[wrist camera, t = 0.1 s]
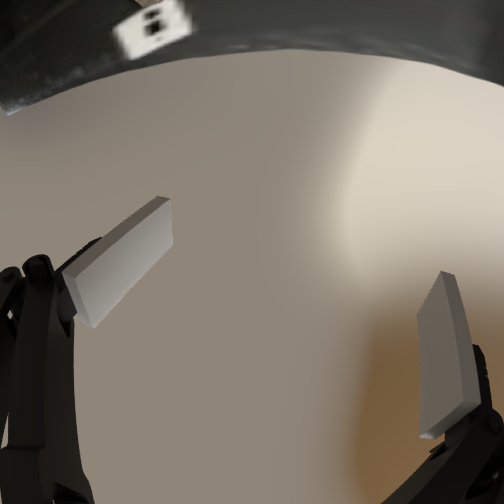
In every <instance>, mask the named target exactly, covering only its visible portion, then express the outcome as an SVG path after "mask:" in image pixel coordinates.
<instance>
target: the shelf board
mask: <svg viewBox="0 0 504 504" xmlns="http://www.w3.org/2000/svg"><path fill="white" fill-rule="evenodd" d="M135 1H136V2H138V3H139V4H140V5H141V6H143V7H146V6H149V5H153V4H156V3H160V2H163V0H135Z"/></svg>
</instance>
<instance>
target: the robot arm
mask: <svg viewBox="0 0 504 504" xmlns="http://www.w3.org/2000/svg"><path fill="white" fill-rule="evenodd" d="M172 245H173V239H172V221H171V201H170V199H169V198H165V197H160V196H157V197H155V198H154V199H153V200H151V201H150V202H149V203H147V204H146V205H145V206H143V207H142V208H140V209H139V210H138V211H136V212H135V213H134V214H132V215H131V216H130V217H128V218H127V219H126V220H125V221H124V222H122V223H120V224H119V225H118V226H117V227H115V228H114V229H113V230H112V231H110V232H109V233H108V234H106V235H105V236H104V237H103V238H102V237H99V238H97V239H95V240H93V241H90V242H89V243H88V244H87V245H85V246H84V247H83V248H82V250H80V251H78V252H77V253H76V255H74V256H72V257H71V258H70V259H68V260H67V261H66V262H65V263H64V264H63V265H62V266H60V267H59V268H58V269H57V270H56V271H54V269H53V266H52V264H51V261H50V258H49V257H48V256H47V255H44V254H41V255H35V256H33V257H31V258H29V259H28V260H27V261H26V262H25V263H24V264H23V266H22V269H23V271H24V274H25V276H26V277H22V274H21V272H20V270H19V268H17V267H14V266H13V267H8V268H6V269H4V270H3V271H2V272H0V449H1V444H2V439H3V434H4V429H5V424H6V420H7V416H8V444H7V446H6V447H4V448H2V449H1V450H0V491H1V499H2V504H53V500H54V503H55V504H95V503H94V500H93V495H92V490H91V487H90V484H89V481H88V479H87V478H86V476H85V474H84V472H83V470H82V464H81V459H80V451H79V443H78V435H77V425H76V413H75V397H74V365H73V364H74V319H73V317H74V316H75V314H77V313H78V316H79V318H80V321H81V323H83V324H85V325H87V326H88V327H90V328H92V329H94V328H96V326H97V325H98V324H99V323H100V322H101V321H102V319H104V317H105V316H106V315H107V314H108V313H109V312H110V311H111V310H112V309H113V308H114V306H115V305H116V304H117V303H118V302H119V301H120V300H121V299H122V298H123V297H124V296H125V294H126V293H127V292H128V291H129V290H130V289H131V288H132V287H133V286H134V285H135V284H136V283H137V281H139V280H140V278H141V277H142V276H143V275H144V274H145V273H146V272H147V271H148V270H149V269H150V268H151V267H152V266H153V265H154V264H155V263H156V262H157V261H158V260H159V259H160V258H161V256H163V255H164V254H165V253H166V252H167V250H169V248H170V247H171V246H172ZM9 310H10V311H11V313H12V314H13V316H12V318H11V319H9V317H8V315H7V314H8V312H9ZM417 320H418V332H419V344H420V345H419V347H420V368H421V369H420V370H421V411H420V433H419V437H422V438H431V439H436V438H438V437H439V436H441V435H442V434H443V433H445V441H443V442H442V443H441V444H439V445H438V446H436V447H435V448H433V449H432V450H430V451H429V452H430V453H432V452H433V451H434V452H433V453H432V454H431V455H430V456H429V457H428V458H427V460H426V461H425V462H424V463H423V464H422V465H421V466H420V467H419V468H418V469H417V470H416V471H415V472H414V473H413V474H412V476H410V477H409V478H408V479H407V480H406V481H405V482H404V483H403V484H402V485H401V486H400V487H399V488H398V489H397V490H396V491H395V492H394V493H392V494H391V495H390V496H389V497H388V498H387V499H386V500H385V501H384V502H382V503H381V504H504V423H503V420H502V417H501V416H500V414H499V413H498V412H497V411H495V410H494V409H493V408H492V400H491V393H490V385H489V379H488V378H487V377H488V373H487V369H486V362H485V357H484V354H483V353H482V351H481V349H480V348H479V346H478V345H474V344H472V341H471V337H470V332H469V327H468V323H467V319H466V315H465V311H464V307H463V303H462V300H461V296H460V293H459V289H458V285H457V282H456V279H455V276H454V275H453V274H450V273H446V272H443V271H441V272H440V274H439V275H438V277H437V279H436V281H435V283H434V285H433V287H432V289H431V290H430V292H429V294H428V296H427V298H426V300H425V301H424V303H423V305H422V307H421V308H420V310H419V312H418V313H417ZM8 412H9V413H8Z"/></svg>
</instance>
